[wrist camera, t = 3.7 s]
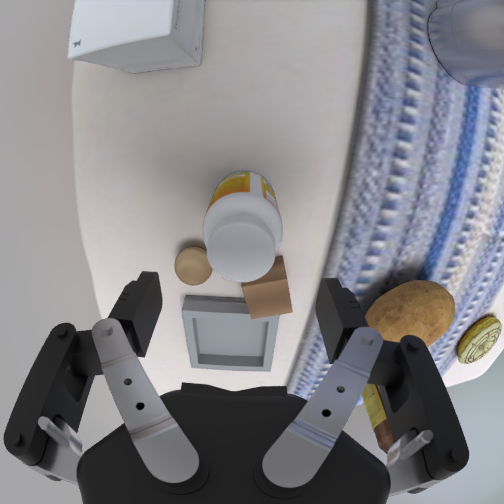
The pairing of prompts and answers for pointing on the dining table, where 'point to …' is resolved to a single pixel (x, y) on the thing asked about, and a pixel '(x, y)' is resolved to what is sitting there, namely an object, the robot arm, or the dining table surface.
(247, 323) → the tray
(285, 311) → the walnut block
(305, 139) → the dining table surface
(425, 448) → the robot arm
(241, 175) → the supplement bottle
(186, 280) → the cork ball
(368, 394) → the sauce bottle
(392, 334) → the potato
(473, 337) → the decorated donut
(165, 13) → the skincare box
